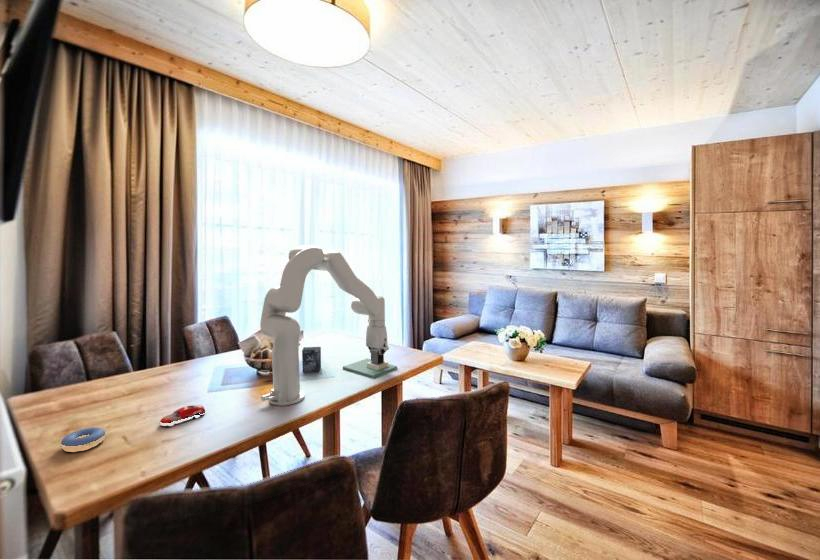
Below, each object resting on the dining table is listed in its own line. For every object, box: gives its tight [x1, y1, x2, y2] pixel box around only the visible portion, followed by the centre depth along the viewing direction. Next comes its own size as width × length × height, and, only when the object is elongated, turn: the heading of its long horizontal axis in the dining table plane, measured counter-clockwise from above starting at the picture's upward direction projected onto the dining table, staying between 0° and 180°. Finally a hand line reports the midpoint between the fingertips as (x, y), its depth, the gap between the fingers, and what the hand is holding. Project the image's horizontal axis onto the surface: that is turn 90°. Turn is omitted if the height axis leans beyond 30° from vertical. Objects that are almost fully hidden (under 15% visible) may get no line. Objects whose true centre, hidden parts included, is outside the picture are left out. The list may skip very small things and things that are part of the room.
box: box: [301, 346, 322, 373], centre depth 172 cm, size 8×6×11 cm
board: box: [342, 358, 398, 379], centre depth 174 cm, size 16×20×3 cm
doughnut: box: [60, 427, 106, 446], centre depth 108 cm, size 10×10×5 cm
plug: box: [370, 348, 384, 365], centre depth 173 cm, size 4×4×8 cm
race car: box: [159, 404, 206, 423], centre depth 124 cm, size 13×5×4 cm, turn 138°
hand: (377, 361), depth 173 cm, fingers closed on plug, 4 cm apart
